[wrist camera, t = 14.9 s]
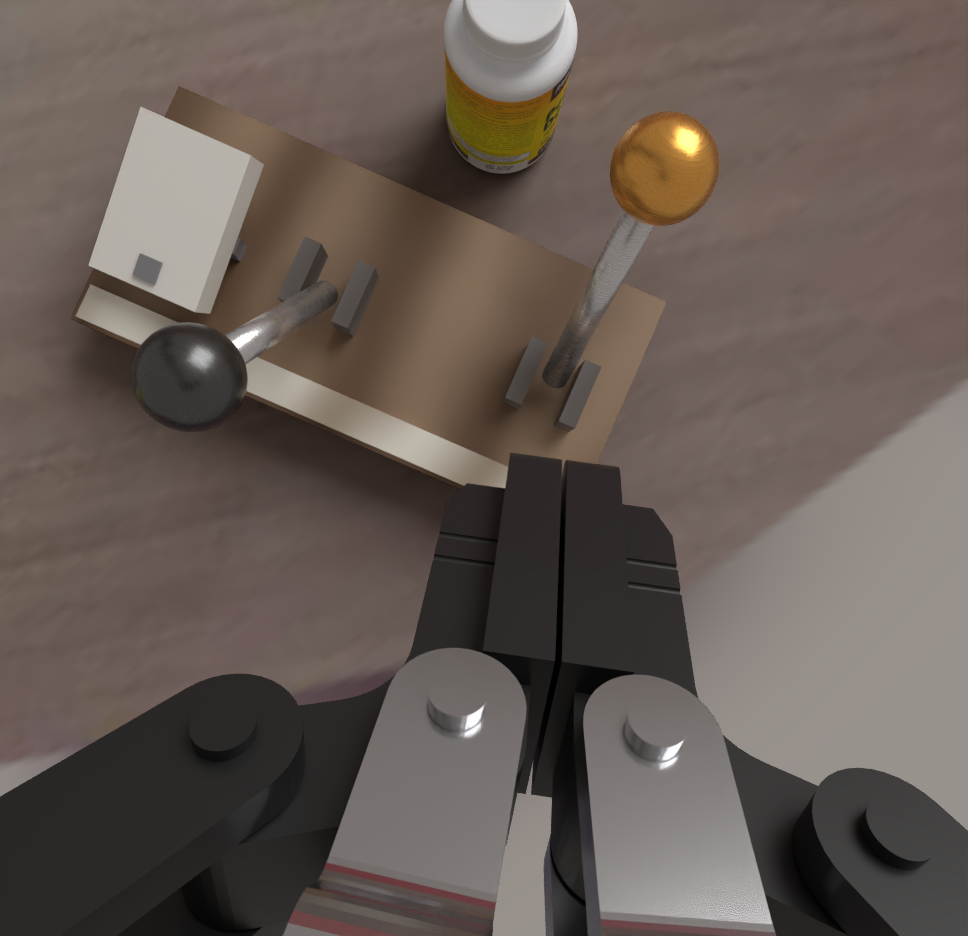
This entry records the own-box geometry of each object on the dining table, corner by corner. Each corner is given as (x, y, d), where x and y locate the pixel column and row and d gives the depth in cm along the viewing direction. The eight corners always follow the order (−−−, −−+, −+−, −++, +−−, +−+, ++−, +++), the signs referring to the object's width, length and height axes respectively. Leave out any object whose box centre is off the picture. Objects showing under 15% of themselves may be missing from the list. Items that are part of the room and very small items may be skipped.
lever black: (281, 312, 35) (100, 421, 23) (300, 242, 33) (115, 320, 21) (349, 342, 35) (203, 466, 23) (371, 273, 33) (226, 369, 21)
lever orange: (508, 389, 33) (621, 134, 22) (532, 335, 35) (648, 72, 24) (578, 420, 34) (729, 181, 22) (598, 365, 35) (748, 116, 24)
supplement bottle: (549, 184, 39) (580, 73, 29) (441, 171, 39) (434, 56, 29) (559, 78, 39) (595, -69, 29) (452, 65, 39) (449, -88, 29)
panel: (101, 332, 38) (48, 309, 33) (200, 118, 38) (163, 64, 34) (558, 532, 38) (572, 537, 33) (650, 316, 39) (677, 291, 34)
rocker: (108, 269, 34) (86, 265, 33) (159, 118, 33) (139, 105, 31) (210, 313, 34) (193, 311, 33) (264, 164, 33) (249, 154, 32)
